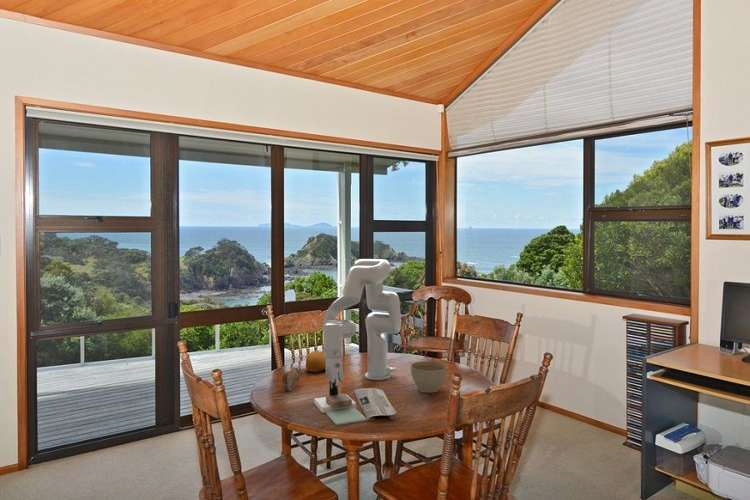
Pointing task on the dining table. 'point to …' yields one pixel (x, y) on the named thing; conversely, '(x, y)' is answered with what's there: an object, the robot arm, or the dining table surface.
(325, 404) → the white flat block
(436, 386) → the planter bowl
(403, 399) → the dining table surface
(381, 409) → the newspaper
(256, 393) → the dining table surface
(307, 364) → the bread
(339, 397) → the walnut tile
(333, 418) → the mat
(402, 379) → the dining table surface
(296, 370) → the tin
